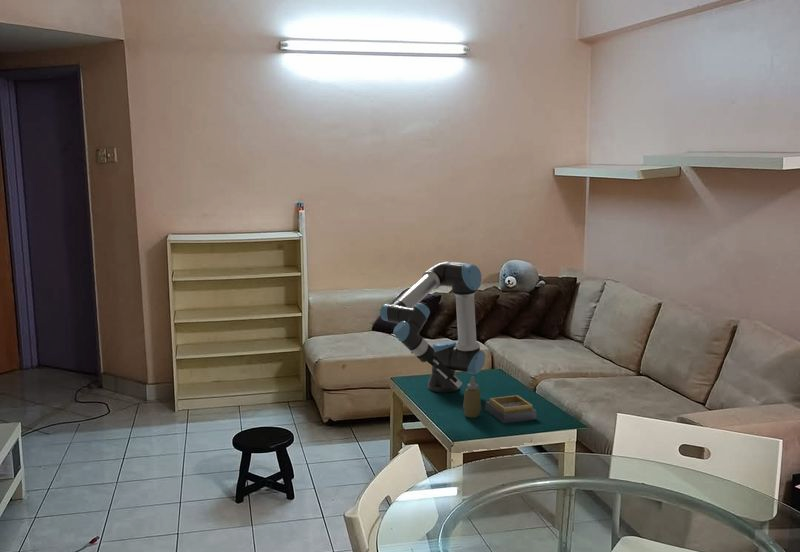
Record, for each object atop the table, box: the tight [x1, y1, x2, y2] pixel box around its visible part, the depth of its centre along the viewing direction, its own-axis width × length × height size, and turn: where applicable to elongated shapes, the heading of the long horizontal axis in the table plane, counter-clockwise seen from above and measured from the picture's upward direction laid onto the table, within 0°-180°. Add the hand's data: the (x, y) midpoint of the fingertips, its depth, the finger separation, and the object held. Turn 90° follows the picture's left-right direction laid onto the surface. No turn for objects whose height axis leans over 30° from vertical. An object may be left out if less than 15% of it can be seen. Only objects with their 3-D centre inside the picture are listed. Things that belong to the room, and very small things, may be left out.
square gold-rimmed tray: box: [484, 394, 538, 424], centre depth 349 cm, size 18×16×6 cm
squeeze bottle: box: [462, 375, 482, 418], centre depth 346 cm, size 8×8×18 cm
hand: (454, 380), depth 342 cm, fingers open, 13 cm apart
